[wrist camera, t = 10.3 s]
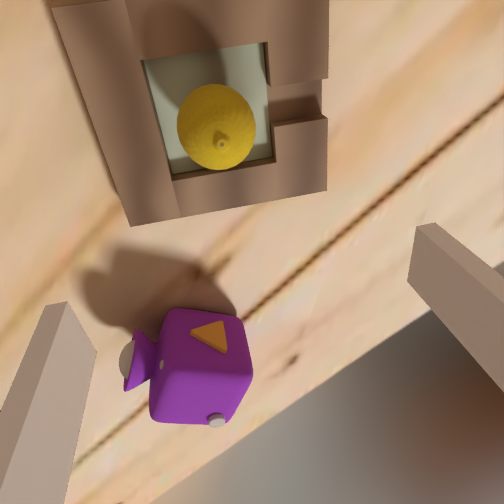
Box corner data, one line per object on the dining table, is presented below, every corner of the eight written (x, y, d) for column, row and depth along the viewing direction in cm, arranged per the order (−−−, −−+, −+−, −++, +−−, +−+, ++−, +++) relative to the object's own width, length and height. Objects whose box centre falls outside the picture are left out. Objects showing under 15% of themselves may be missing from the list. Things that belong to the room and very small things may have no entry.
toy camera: (123, 299, 39) (109, 376, 31) (245, 300, 42) (262, 370, 34) (125, 364, 45) (114, 443, 36) (232, 361, 48) (244, 433, 40)
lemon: (222, 60, 27) (238, 77, 20) (257, 126, 30) (280, 158, 23) (161, 100, 27) (157, 129, 21) (201, 160, 30) (208, 201, 24)
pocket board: (133, 213, 33) (130, 226, 31) (61, 7, 24) (50, 8, 22) (317, 179, 35) (326, 190, 33) (317, -26, 26) (329, -29, 24)
